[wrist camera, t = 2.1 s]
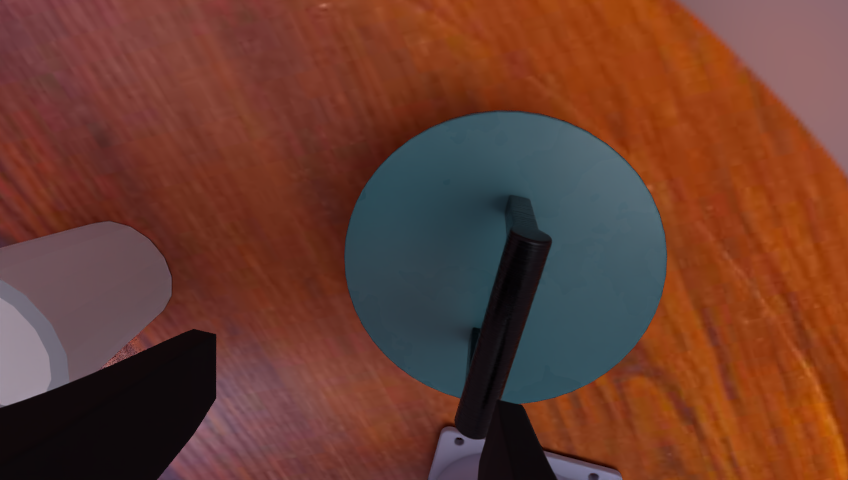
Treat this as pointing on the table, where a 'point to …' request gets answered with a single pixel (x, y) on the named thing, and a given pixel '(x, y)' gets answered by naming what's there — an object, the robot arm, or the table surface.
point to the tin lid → (505, 259)
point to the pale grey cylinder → (74, 304)
